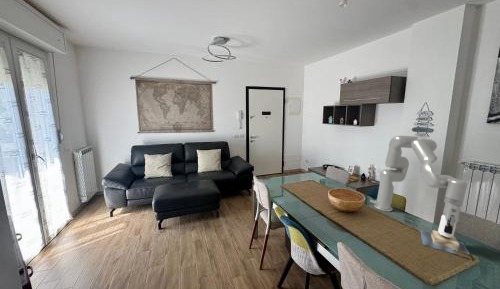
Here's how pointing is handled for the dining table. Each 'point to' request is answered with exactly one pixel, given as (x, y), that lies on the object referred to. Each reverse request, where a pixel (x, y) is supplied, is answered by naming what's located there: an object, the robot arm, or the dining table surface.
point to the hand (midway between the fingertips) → (446, 229)
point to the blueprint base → (430, 243)
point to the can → (442, 227)
